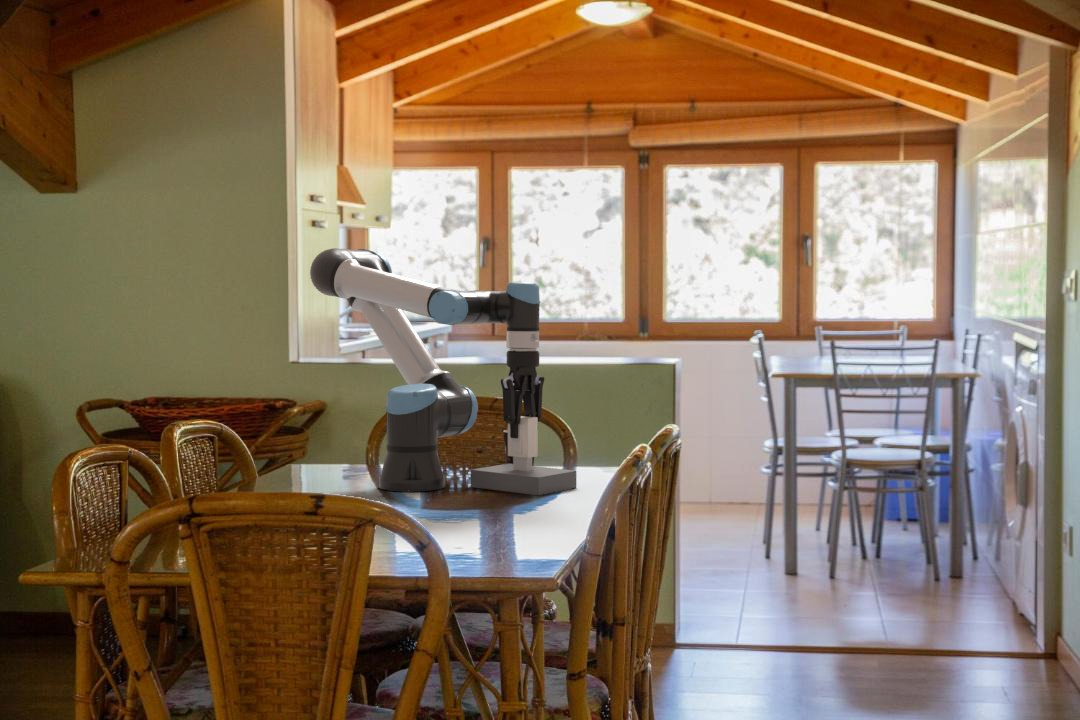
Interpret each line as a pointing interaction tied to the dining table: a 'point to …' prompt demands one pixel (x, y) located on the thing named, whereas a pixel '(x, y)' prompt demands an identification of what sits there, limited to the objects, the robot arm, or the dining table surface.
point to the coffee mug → (508, 458)
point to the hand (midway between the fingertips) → (522, 451)
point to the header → (523, 479)
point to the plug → (525, 444)
